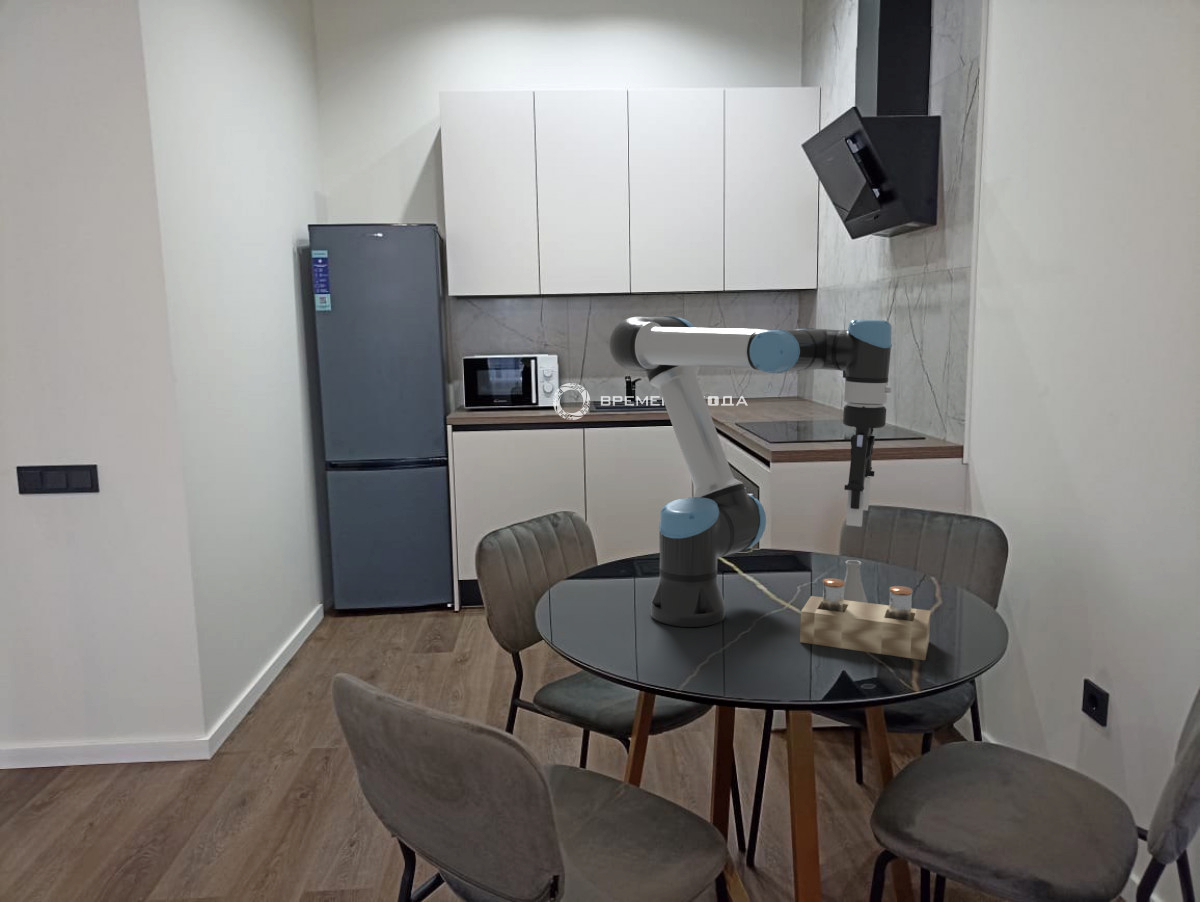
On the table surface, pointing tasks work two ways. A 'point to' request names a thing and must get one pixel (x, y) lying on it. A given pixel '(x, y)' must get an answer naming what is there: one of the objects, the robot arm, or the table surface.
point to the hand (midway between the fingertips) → (857, 517)
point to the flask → (854, 583)
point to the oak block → (865, 629)
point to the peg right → (900, 603)
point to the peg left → (833, 594)
